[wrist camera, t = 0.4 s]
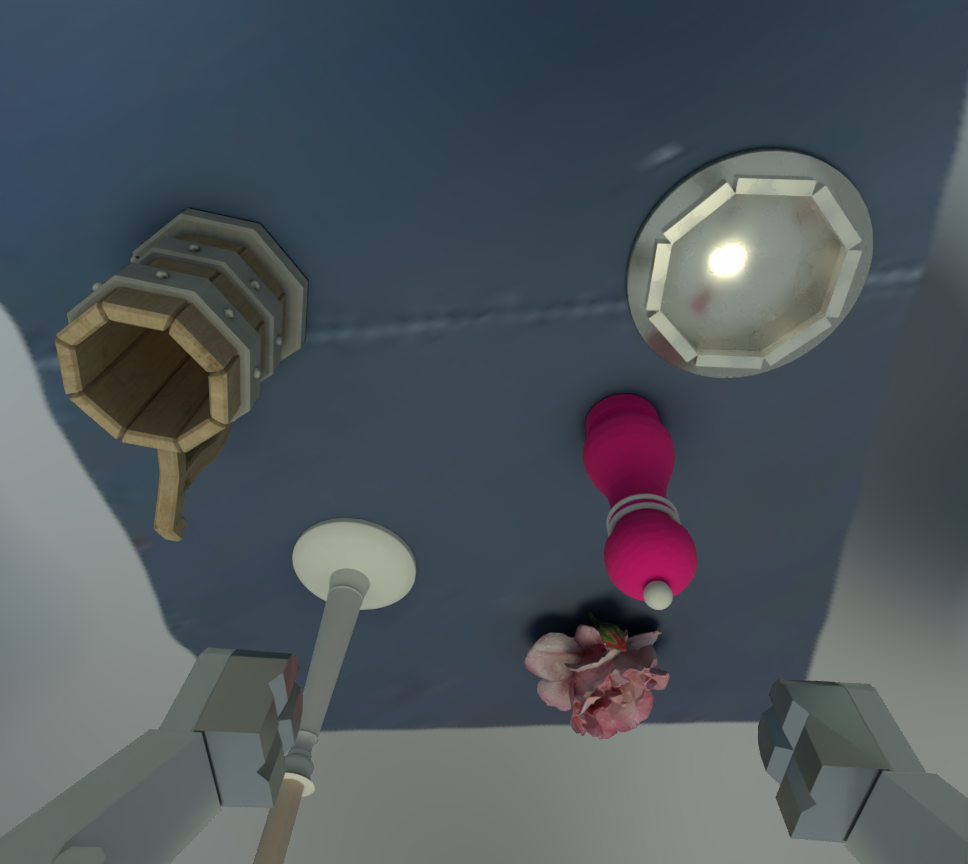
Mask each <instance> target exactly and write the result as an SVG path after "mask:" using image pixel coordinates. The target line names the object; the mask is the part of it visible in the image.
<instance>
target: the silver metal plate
mask: <svg viewBox="0 0 968 864" xmlns="http://www.w3.org/2000/svg"><path fill="white" fill-rule="evenodd" d="M872 252H873V232H872V225H871V220H870V216H869V213H868V210H867V207H866V205H865V203H864V201H863V199H862V197H861V195H860V193H859V192H858V191H857V190H856V188H855V187H854V186H853V184H852V183H851V182H850V181H849V180H848V179H847V178H846V177H845V176H844V175H843V174H842V173H840V172H839V171H838V170H836V169H835V168H833V167H831V166H830V165H828V164H827V163H825V162H824V161H822V160H820V159H818V158H815V157H813V156H811V155H808V154H806V153H802V152H798V151H794V150H788V149H778V148H764V149H753V150H747V151H741V152H737V153H734V154H731V155H727V156H724V157H721V158H719V159H717V160H714V161H712V162H710V163H708V164H705V165H704V166H702V167H700V168H699V169H697V170H695V171H693V172H692V173H690V174H689V175H687V176H686V177H685V178H683V179H682V180H681V181H679V182H678V183H677V184H676V185H674V186H673V187H672V188H671V189H670V190H669V191H668V192H667V193H666V194H665V195H664V196H663V197H662V198H661V199H660V201H659V202H658V203H657V204H656V205H655V206H654V208H653V209H652V210H651V212H650V213H649V215H648V216H647V218H646V219H645V221H644V222H643V224H642V226H641V228H640V230H639V232H638V234H637V236H636V238H635V241H634V243H633V246H632V249H631V252H630V256H629V261H628V265H627V275H626V289H627V298H628V303H629V307H630V311H631V314H632V317H633V319H634V322H635V325H636V327H637V329H638V330H639V332H640V334H641V336H642V337H643V339H644V340H645V341H646V343H647V344H648V345H649V346H650V348H652V349H653V350H654V351H655V352H656V353H657V354H658V355H659V356H660V357H662V358H663V359H664V360H666V361H667V362H669V363H670V364H672V365H674V366H676V367H678V368H680V369H682V370H685V371H688V372H691V373H694V374H698V375H703V376H708V377H718V378H735V377H743V376H750V375H755V374H759V373H763V372H766V371H769V370H772V369H775V368H778V367H780V366H783V365H785V364H787V363H789V362H791V361H793V360H795V359H797V358H798V357H800V356H802V355H804V354H805V353H807V352H808V351H810V350H811V349H812V348H814V347H815V346H817V345H818V344H819V343H821V342H822V341H823V340H824V339H825V338H826V337H827V336H828V335H830V334H831V333H832V332H833V331H834V330H835V328H836V327H837V326H838V325H839V324H840V323H841V322H842V321H843V319H844V318H845V317H846V315H847V314H848V313H849V311H850V310H851V309H852V307H853V305H854V304H855V302H856V300H857V299H858V297H859V295H860V293H861V291H862V288H863V286H864V284H865V282H866V279H867V275H868V272H869V269H870V265H871V259H872Z"/></svg>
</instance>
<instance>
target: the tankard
mask: <svg viewBox="0 0 968 864" xmlns="http://www.w3.org/2000/svg"><path fill="white" fill-rule="evenodd" d="M130 262H131V264H129V265H128V266H127V267H125V268H124V269H123V270H121V271H120V272H119V273H117V274H116V275H114V276H113V277H112V278H111V279H109V280H108V281H107V282H106V283H105V284H103V283H101V282H98V283H95V284H94V285H93V290H94V292H93V293H92V294H91V295H90V296H88V297H87V298H86V299H85V300H83V301H82V302H81V303H80V304H78V305H77V306H76V307H75V308H73V309H72V310H71V311H70V312H68V313H67V316H68V322H69V325H68V326H66V327H65V328H64V329H63V330H61V331H60V332H59V333H58V334H56V336H57V338H56V339H55V344H56V349H57V354H58V359H59V364H60V369H61V374H62V379H63V384H64V389H65V393H66V394H70V393H72V394H71V395H70V396H69V397H68V398H69V399H70V400H72V401H73V402H74V403H75V404H76V405H77V406H78V407H80V408H81V409H82V410H83V411H84V412H85V413H87V414H88V415H89V416H90V417H91V418H92V419H94V420H95V421H96V422H97V423H98V424H99V425H100V426H102V427H103V428H104V429H105V430H106V431H107V432H109V433H110V434H111V435H112V436H113V437H114V438H116V439H118V438H120V437H121V436H123V438H122V442H124V443H130V444H135V445H140V446H146V447H151V448H156V449H157V453H158V461H159V469H160V477H159V488H158V499H157V506H156V514H155V521H154V529H155V530H156V531H157V532H158V533H159V534H160V535H161V536H162V537H164V538H165V539H167V540H173V541H180V540H181V539H182V537H183V534H184V531H185V528H186V525H187V521H186V520H185V519H184V518H183V517H182V516H181V515H182V509H183V504H184V498H185V492H186V490H187V489H188V488H189V486H190V485H191V484H192V482H193V481H194V480H195V478H196V477H197V476H198V474H199V473H200V472H201V470H203V469H204V468H205V467H206V466H208V465H209V464H210V463H211V462H213V461H214V460H215V459H216V458H217V457H218V455H219V453H220V452H221V450H222V448H223V447H224V445H225V443H226V441H227V438H228V435H229V433H230V430H231V427H232V424H233V421H235V420H236V419H237V418H239V417H240V416H242V415H244V414H245V413H247V412H248V411H250V410H251V408H252V407H253V405H254V403H255V402H256V400H257V399H258V397H259V395H260V382H262V381H263V380H265V379H266V378H268V377H269V376H271V375H273V373H274V372H275V370H276V368H277V367H278V365H279V364H280V362H281V360H283V359H284V358H286V357H288V356H289V355H291V354H292V353H294V352H295V351H297V350H298V349H300V348H301V347H302V345H303V343H304V342H305V331H306V311H307V292H308V281H307V279H306V278H305V277H304V276H303V275H302V273H301V272H300V271H299V270H298V269H297V267H296V266H295V265H294V264H293V263H292V261H291V260H290V259H289V258H288V257H287V255H286V254H285V253H284V252H283V251H282V249H281V248H280V247H279V246H278V245H277V243H276V242H275V241H274V240H273V239H272V237H271V236H270V235H269V234H268V233H267V231H266V230H265V229H264V228H263V227H262V226H261V224H259V223H254V222H249V221H245V220H240V219H236V218H231V217H226V216H222V215H217V214H212V213H208V212H203V211H198V210H194V209H189V208H187V209H186V210H185V211H183V212H182V213H180V214H179V215H178V216H177V217H175V218H174V219H173V220H172V221H170V222H169V223H168V224H167V225H165V226H164V227H163V228H162V229H161V230H159V231H158V232H157V233H156V234H154V235H153V236H152V237H151V238H149V239H148V240H147V241H146V242H145V243H143V244H142V245H141V246H140V247H138V248H137V249H136V250H135V251H133V256H132V258H131V261H130Z"/></svg>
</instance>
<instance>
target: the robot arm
mask: <svg viewBox="0 0 968 864" xmlns="http://www.w3.org/2000/svg"><path fill="white" fill-rule="evenodd" d="M298 670H299V666H298V661H297V656H296V655H294V654H287V653H274V652H262V651H250V650H237V649H236V650H233V649H219V648H207V649H206V650H205V651H203V652H202V653H201V654H200V655H199V657H198V659H197V661H196V662H195V664H194V666H193V668H192V670H191V672H190V673H189V675H188V677H187V679H186V681H185V683H184V684H183V686H182V688H181V690H180V692H179V694H178V696H177V697H176V699H175V701H174V703H173V704H172V706H171V708H170V710H169V712H168V714H167V715H166V717H165V719H164V721H163V723H162V725H161V727H160V728H159V730H151V729H150V730H148V731H147V732H146V733H144V734H143V735H141V736H140V737H139V738H137V739H136V740H135V741H133V742H132V743H130V744H129V745H128V746H126V747H125V748H124V749H122V750H121V751H119V752H118V753H117V754H115V755H114V756H112V757H111V758H110V759H108V760H107V761H106V762H104V763H103V764H102V765H100V766H99V767H97V768H96V769H95V770H93V771H92V772H90V773H89V774H88V775H87V776H85V777H84V778H82V779H81V780H79V781H78V782H77V783H75V784H74V785H73V786H71V787H70V788H68V789H67V790H66V791H64V792H63V793H62V794H60V795H59V796H57V797H56V798H55V799H53V800H52V801H51V802H49V803H48V804H46V805H45V806H44V807H42V808H41V809H40V810H38V811H37V812H35V813H34V814H33V815H31V816H30V817H28V818H27V819H26V820H24V821H23V822H22V823H20V824H19V825H18V826H16V827H15V828H14V829H12V830H11V831H9V832H8V833H7V834H5V835H4V836H2V837H1V838H0V864H170V863H171V862H172V861H173V860H174V859H175V858H176V857H177V856H178V855H179V854H180V853H181V851H183V849H184V848H185V847H186V846H187V845H188V844H189V843H190V842H191V841H192V840H193V839H194V838H195V837H196V836H197V835H198V834H199V833H200V832H201V831H202V830H203V828H204V827H205V826H206V825H207V824H208V823H209V822H210V821H211V820H212V819H213V818H214V817H215V816H216V815H217V814H218V813H219V812H220V811H221V806H226V807H228V806H229V807H260V808H261V807H263V808H274V805H275V802H276V799H277V796H278V793H279V790H280V787H281V784H282V781H283V778H284V775H285V772H286V763H285V757H284V754H285V753H286V752H287V751H288V750H289V749H290V748H291V747H293V746H294V745H295V742H296V739H297V735H298V732H299V729H300V723H301V717H302V711H303V694H302V687H301V686H300V685H299V684H298V683H297V682H295V679H296V676H297V673H298ZM769 697H770V700H771V702H772V704H773V706H771V707H770V708H768V709H767V710H765V711H764V712H763V713H762V715H761V719H760V722H759V725H758V745H759V750H760V755H761V758H762V761H763V764H764V767H765V770H766V772H767V773H768V774H769V775H770V776H771V777H772V778H774V779H775V780H776V781H777V782H778V783H779V784H780V787H779V790H778V792H777V795H776V800H777V802H778V805H779V808H780V811H781V813H782V816H783V819H784V821H785V824H786V827H787V829H788V832H789V835H790V837H791V838H795V839H806V840H818V841H829V842H841V843H845V847H846V848H847V849H848V850H849V851H850V852H851V854H852V855H853V856H854V857H855V858H856V859H857V860H858V861H859V862H860V863H861V864H968V798H967V797H965V796H964V795H963V794H962V793H960V792H959V791H958V790H956V789H955V788H954V787H953V786H951V785H950V784H949V783H947V782H946V781H945V780H943V779H942V778H941V777H940V776H938V775H937V774H931V773H926V771H925V770H924V768H923V766H922V764H921V763H920V761H919V760H918V758H917V756H916V755H915V753H914V751H913V750H912V748H911V746H910V745H909V743H908V741H907V740H906V738H905V737H904V735H903V733H902V732H901V730H900V728H899V727H898V725H897V724H896V722H895V720H894V718H893V717H892V715H891V713H890V712H889V710H888V708H887V707H886V705H885V703H884V702H883V700H882V699H881V697H880V695H879V694H878V692H877V690H876V689H875V688H874V687H872V686H871V685H870V684H861V683H840V682H838V683H835V682H827V681H803V680H779V679H778V680H777V681H775V682H774V683H773V684H772V687H771V689H770V692H769Z"/></svg>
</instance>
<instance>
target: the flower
mask: <svg viewBox="0 0 968 864" xmlns="http://www.w3.org/2000/svg"><path fill="white" fill-rule="evenodd" d="M589 617H590V619H591V621H592V622H593V623H594V625H595V627H596V628H595V627H593V626H589V625H582V624H580V625H579V626H578V627H577V630H576V633H575V636H574V637H568V636H566V635H565V634H564V633H548V634H546V635H544V636H542V637H541V638H540V639H539V640H537V641H536V642H535V643H534V644H533V645H532V647H531V648H530V649H529V650H528V653H527V656H526V659H525V665H526V668H527V669H528V670H529V671H530V672H532V673H533V674H534V675H536V676H538V677H540V678H543V679H542V680H541V681H540V682H539V683H538V687H537V689H538V690H537V693H538V694H539V696H540V697H541V699H542V700H543V701H544V703H545V704H547V705H549V706H555V707H557V708H558V709H559V710H561V711H567V710H569V709H571V716H570V723H571V726H572V729H573V730H574V731H575V732H576V733H581V735H582V736H583V735H584V734H585V733H586V731H587V732H588V733H589V734H590V735H592V736H593V737H599V739H608V738H610V737H612V736H613V735H615V734H616V733H617V731H619V732H626V731H629V730H631V729H634V728H637V725H638V724H639V723H640V722H641V721H643V720H645V719H646V718H648V716H649V714H650V711H651V709H652V707H653V695H652V693H651V691H650V690H651V689H656V690H662V689H665V687H666V685H667V683H668V680H669V674H668V672H665V671H662V670H660V669H654V668H652V667H654V666H656V665H657V663H658V661H657V660H656V659H657V655H656V652H655V650H654V647H653V644H654V643H655V641H656V640H657V638H658V636H657V635H659V634H661V632H660V633H659V632H658V631H650V632H645V633H641V634H637V635H634V636H631V637H629V638H628V632H627V630H624V631H622V630H621V629H620V628H619V627H618V625H615V624H612V623H609V624H608V623H607V622H601V621H599V620H597V619H595V618H594V616H593V615H592V614H591V612H590V611H589Z"/></svg>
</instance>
